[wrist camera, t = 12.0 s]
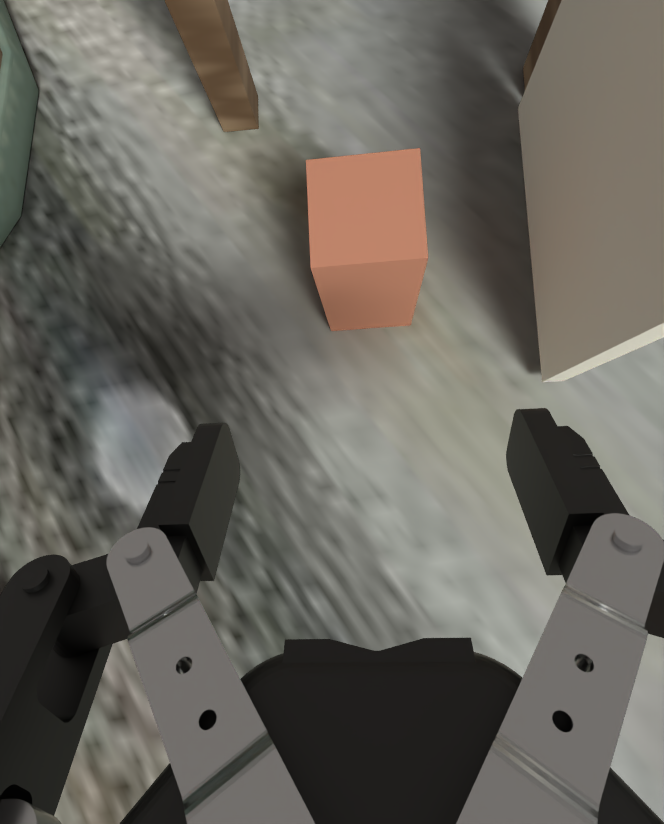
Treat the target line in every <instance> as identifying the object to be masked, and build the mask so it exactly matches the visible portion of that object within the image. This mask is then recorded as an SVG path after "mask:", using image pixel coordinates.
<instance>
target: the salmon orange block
mask: <svg viewBox="0 0 664 824" xmlns="http://www.w3.org/2000/svg"><path fill="white" fill-rule="evenodd" d="M306 173H307V196H308V219H309V243H310V266H311V271H312V274H313V277H314V280H315V283H316V286H317V289H318V292H319V295H320V298H321V301H322V304H323V307H324V310H325V314H326V317H327V320H328V323H329V326H330V329H331V331H338V330H351V329H365V328H379V327H393V326H407V325H411V322H412V318H413V314H414V310H415V306H416V303H417V299H418V295H419V291H420V287H421V283H422V280H423V276H424V272H425V268H426V264H427V260H428V249H427V236H426V222H425V209H424V195H423V182H422V168H421V155H420V148H416V149H407V150H397V151H388V152H378V153H369V154H359V155H350V156H340V157H331V158H321V159H312V160H306Z"/></svg>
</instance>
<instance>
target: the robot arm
mask: <svg viewBox="0 0 664 824" xmlns="http://www.w3.org/2000/svg"><path fill="white" fill-rule="evenodd" d="M506 461H507V468H508V472H509V475H510V478H511V481H512V483H513V486H514V489H515V491H516V494H517V497H518V499H519V502H520V505H521V508H522V510H523V513H524V516H525V518H526V521H527V524H528V526H529V529H530V532H531V534H532V537H533V540H534V543H535V545H536V548H537V551H538V553H539V556H540V559H541V561H542V564H543V567H544V570H545V572H546V575H563V577H564V580H565V582H566V584H565V586H564V588H563V590H562V592H561V594H560V596H559V599H558V601H557V603H556V605H555V608H554V610H553V612H552V614H551V616H550V619H549V621H548V623H547V625H546V627H545V630H544V632H543V634H542V636H541V638H540V641H539V643H538V645H537V647H536V650H535V652H534V654H533V656H532V658H531V661H530V663H529V665H528V667H527V669H526V672H525V674H524V676H523V678H522V677H521V676H520V675H518V674H517V673H516V672H515V671H513V670H512V669H510V668H509V667H507V666H506V665H504V664H502V663H500V662H498V661H496V660H495V659H493V658H490V657H487V656H485V655H482V654H479V653H476V652H474V651H473V646H472V641H471V638H423V639H420V640H416V641H413V642H409V643H406V644H402V645H399V646H395V647H392V648H388V649H385V650H381V651H373V650H369V649H365V648H361V647H357V646H353V645H350V644H346V643H342V642H338V641H335V640H331V639H298V640H285V646H284V654H280V655H277V656H275V657H272V658H270V659H268V660H266V661H264V662H262V663H261V664H259V665H257V666H256V667H254V668H253V669H252V670H250V671H249V672H248V673H246V674H245V675H244V676H243V677H242V678H241V679H240V678H239V676H238V674H237V672H236V670H235V668H234V666H233V664H232V662H231V660H230V658H229V657H228V655H227V653H226V651H225V649H224V647H223V645H222V643H221V641H220V639H219V637H218V635H217V633H216V631H215V629H214V628H213V626H212V624H211V622H210V620H209V618H208V616H207V614H206V612H205V610H204V608H203V606H202V604H201V602H200V601H199V599H198V597H197V595H196V593H197V590H198V586H199V582H200V581H214V579H215V575H216V571H217V567H218V563H219V559H220V555H221V551H222V547H223V544H224V540H225V536H226V532H227V528H228V524H229V520H230V516H231V512H232V508H233V504H234V500H235V497H236V493H237V489H238V485H239V480H240V464H239V459H238V456H237V452H236V449H235V446H234V442H233V439H232V436H231V432H230V429H229V426H228V424H227V423H209V424H199V425H198V427H197V429H196V432H195V434H194V437H193V439H192V442H182V443H181V444H180V445H179V446H178V447H177V448H176V449H175V450H174V451H173V452H172V453H171V454H170V456H169V458H168V460H167V462H166V465H165V467H164V469H163V473H162V474H161V476H160V478H159V480H158V485H156V487H155V489H154V492H153V494H152V496H151V499H150V501H149V503H148V505H147V508H146V510H145V512H144V514H143V517H142V519H141V521H140V523H139V526H138V528H137V530H134V531H132V532H129V533H128V534H126V535H124V536H123V537H122V538H120V539H119V540H118V541H117V542H116V543H115V544H114V545H113V547H112V548H111V550H110V552H109V554H106V555H104V556H101V557H97V558H94V559H91V560H88V561H84V562H81V563H78V564H75V565H71V564H70V563H69V562H68V560H67V559H66V558H64V557H63V556H60V555H46V556H43V557H39V558H37V559H35V560H33V561H31V562H29V563H27V564H26V565H24V566H23V567H22V568H21V569H19V570H18V571H17V572H16V573H15V574H14V575H13V576H12V578H11V579H10V580H9V582H8V583H7V585H6V587H5V588H4V590H3V592H2V594H1V595H0V824H61V822H60V821H59V820H58V819H57V818H56V817H55V816H54V814H55V811H56V808H57V805H58V802H59V799H60V797H61V794H62V791H63V788H64V785H65V782H66V779H67V776H68V773H69V770H70V767H71V764H72V761H73V758H74V755H75V753H76V750H77V747H78V744H79V741H80V738H81V735H82V732H83V729H84V726H85V723H86V720H87V717H88V714H89V711H90V708H91V706H92V703H93V700H94V697H95V694H96V691H97V688H98V685H99V682H100V679H101V676H102V673H103V670H104V667H105V664H106V662H107V659H108V656H109V653H110V650H111V647H112V644H113V643H116V642H119V641H122V640H125V639H128V643H129V646H130V649H131V652H132V655H133V658H134V661H135V664H136V666H137V669H138V672H139V675H140V678H141V681H142V684H143V686H144V689H145V692H146V695H147V698H148V701H149V704H150V707H151V709H152V712H153V715H154V718H155V721H156V724H157V727H158V730H159V732H160V735H161V738H162V741H163V744H164V747H165V750H166V752H167V755H168V758H169V761H170V763H169V765H168V766H167V767H166V768H165V769H164V771H163V772H162V773H161V774H160V775H159V777H158V778H157V779H156V780H155V781H154V783H153V784H152V785H151V786H150V788H149V789H148V790H147V791H146V792H145V794H144V795H143V796H142V797H141V798H140V800H139V801H138V802H137V803H136V804H135V806H134V807H133V808H132V809H131V810H130V812H129V813H128V814H127V815H126V816H125V818H124V819H123V820H122V821H121V822H120V824H664V822H663V821H662V820H661V819H660V818H659V817H658V816H657V815H656V814H655V813H654V812H653V811H652V810H651V809H650V808H649V807H648V806H647V805H646V804H645V803H644V802H643V801H642V800H641V799H640V798H639V797H638V795H637V794H636V793H635V792H634V791H633V790H632V789H631V788H630V787H629V786H628V785H627V784H626V783H625V782H624V781H623V780H622V779H621V778H620V777H619V776H618V775H617V774H616V773H615V772H614V771H613V770H612V769H611V768H610V766H611V762H612V759H613V755H614V752H615V748H616V745H617V741H618V738H619V734H620V731H621V727H622V724H623V720H624V717H625V714H626V710H627V707H628V703H629V700H630V696H631V693H632V689H633V686H634V682H635V679H636V675H637V672H638V668H639V665H640V661H641V658H642V654H643V651H644V647H645V644H646V640H647V635H648V634H651V635H655V636H658V637H662V638H664V540H663V539H662V538H661V536H660V535H659V534H658V533H657V532H656V531H655V530H654V529H653V528H652V527H651V526H649V525H648V524H647V523H645V522H643V521H642V520H639V519H637V518H635V517H632V516H630V515H629V514H628V512H627V511H626V509H625V507H624V505H623V504H622V502H621V500H620V499H619V497H618V495H617V494H616V492H615V490H614V489H613V487H612V485H611V484H610V482H609V480H608V479H607V477H606V475H605V474H604V472H603V470H602V469H600V465H599V463H598V462H597V460H596V458H595V457H593V453H592V452H591V450H590V448H589V447H588V445H587V443H586V442H585V440H584V438H582V437H581V436H580V435H579V434H577V433H576V432H575V431H574V430H572V429H571V428H570V427H569V426H558V427H557V425H556V423H555V421H554V419H553V418H552V416H551V414H550V412H549V411H548V409H546V408H538V409H518V410H516V411H515V413H514V417H513V422H512V427H511V432H510V436H509V441H508V446H507V452H506Z"/></svg>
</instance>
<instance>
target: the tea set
mask: <svg viewBox="0 0 664 824" xmlns="http://www.w3.org/2000/svg"><path fill="white" fill-rule="evenodd" d="M38 93H39V91H38V88H37V85H36V83H35V80H34V77H33V74H32V72H31V69H30V67H29V64H28V62H27V59H26V57H25V54H24V51H23V49H22V46H21V44H20V41H19V39H18V36H17V34H16V31H15V29H14V26H13V23H12V21H11V18H10V16H9V13H8V11H7V8H6V6H5V3H4V0H0V247H1V245H2V244H3V242H4V241H5V239H6V238H7V236H8V235H9V233H10V232H11V230H12V229H13V227H14V226H15V224H16V223H17V221H18V220H19V218H20V217H21V212H22V205H23V198H24V191H25V184H26V177H27V170H28V163H29V156H30V149H31V142H32V135H33V128H34V121H35V114H36V107H37V100H38Z"/></svg>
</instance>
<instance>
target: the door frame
mask: <svg viewBox="0 0 664 824" xmlns="http://www.w3.org/2000/svg"><path fill="white" fill-rule="evenodd" d="M561 1H562V0H548V3H547V5H546V8H545V11H544V13H543V16H542V19H541V21H540V24H539V27H538V29H537V32H536V35H535V37H534V40H533V43H532V45H531V48H530V51H529V53H528V56H527V59H526V61H525V64H524V67H523V74H524V85H525V90H526V87H527V85H528V82H529V80H530V77H531V75H532V72H533V70H534V67H535V65H536V62H537V60H538V57H539V55H540V53H541V50H542V48H543V45H544V43H545V40H546V38H547V35H548V33H549V30H550V28H551V25H552V23H553V20H554V18H555V15H556V13H557V10H558V8H559V5H560V3H561ZM165 3H166V5H167V7H168V9H169V11H170V14H171V16H172V18H173V20H174V23H175V25H176V27H177V29H178V31H179V34H180V36H181V38H182V40H183V42H184V45H185V47H186V49H187V51H188V53H189V56H190V58H191V60H192V62H193V64H194V67H195V69H196V71H197V73H198V75H199V78H200V80H201V82H202V84H203V86H204V89H205V91H206V93H207V95H208V98H209V100H210V102H211V104H212V106H213V109H214V111H215V113H216V115H217V117H218V120H219V122H220V124H221V126H222V128H223V131H224V132H229V131H239V130H249V129H259V125H258V95H257V92H256V88H255V85H254V82H253V79H252V76H251V73H250V69H249V66H248V63H247V60H246V57H245V54H244V50H243V47H242V44H241V41H240V38H239V35H238V32H237V28H236V25H235V22H234V19H233V16H232V13H231V9H230V6H229V3H228V0H165Z"/></svg>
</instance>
